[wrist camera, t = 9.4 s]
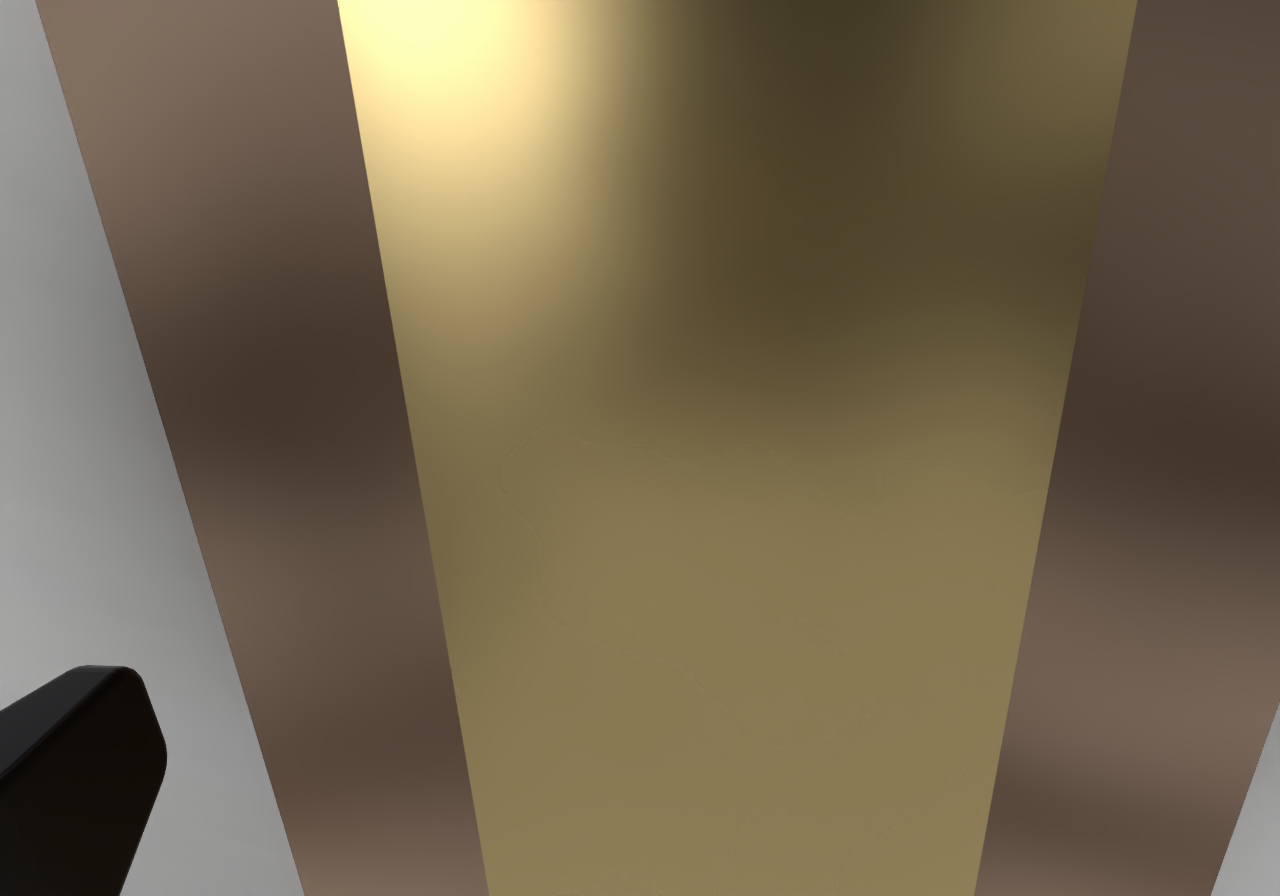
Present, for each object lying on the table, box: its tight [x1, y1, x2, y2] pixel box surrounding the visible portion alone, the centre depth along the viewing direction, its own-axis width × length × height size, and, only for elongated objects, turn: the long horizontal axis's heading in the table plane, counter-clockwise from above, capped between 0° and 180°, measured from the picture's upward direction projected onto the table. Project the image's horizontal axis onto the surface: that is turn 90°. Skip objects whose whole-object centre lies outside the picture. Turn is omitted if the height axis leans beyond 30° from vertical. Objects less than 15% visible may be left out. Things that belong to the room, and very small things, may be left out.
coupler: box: [337, 0, 1137, 896], centre depth 10 cm, size 10×4×5 cm, turn 2°
